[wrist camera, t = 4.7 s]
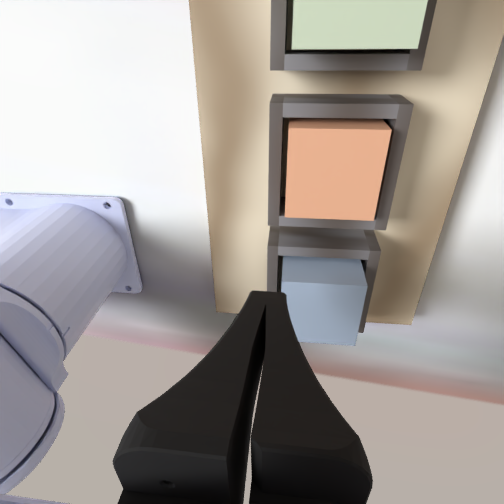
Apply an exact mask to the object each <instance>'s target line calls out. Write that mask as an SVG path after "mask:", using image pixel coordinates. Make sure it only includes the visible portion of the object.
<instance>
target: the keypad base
mask: <svg viewBox="0 0 504 504" xmlns="http://www.w3.org/2000/svg"><path fill="white" fill-rule="evenodd" d="M293 5H294V0H189V8H190V19H191V31H192V42H193V53H194V65H195V76H196V87H197V99H198V110H199V121H200V132H201V144H202V155H203V166H204V178H205V189H206V200H207V212H208V223H209V234H210V246H211V257H212V268H213V280H214V291H215V302H216V312H223V313H238V314H239V312H240V310H241V309H242V307H243V305H244V303H245V302H246V300H247V298H248V296H249V293H250V292H251V291H252V290H255V291H270V292H281V285H282V268H283V256H301V257H321V258H342V259H361V263H362V267H363V271H364V274H365V278H366V282H367V286H368V287H367V292H366V296H365V301H364V306H363V311H362V315H361V320H360V325H359V330H358V332H359V333H363V332H364V327H365V323H366V322H374V323H389V324H404V325H411V324H412V321H413V318H414V314H415V311H416V308H417V305H418V302H419V299H420V296H421V292H422V289H423V286H424V283H425V280H426V277H427V274H428V271H429V267H430V264H431V261H432V258H433V255H434V252H435V249H436V245H437V242H438V239H439V236H440V233H441V230H442V227H443V224H444V220H445V217H446V214H447V211H448V208H449V205H450V202H451V199H452V195H453V192H454V189H455V186H456V183H457V180H458V177H459V173H460V170H461V167H462V164H463V161H464V158H465V155H466V152H467V148H468V145H469V142H470V139H471V136H472V133H473V130H474V127H475V123H476V120H477V117H478V114H479V111H480V108H481V105H482V101H483V98H484V95H485V92H486V89H487V86H488V83H489V80H490V76H491V73H492V70H493V67H494V64H495V61H496V58H497V54H498V51H499V48H500V45H501V42H502V39H503V36H504V0H428V2H427V7H426V11H425V16H424V21H423V26H422V30H421V35H420V40H419V45H418V49H292V28H293ZM289 117H292V118H371V119H383V120H384V121H385V123H386V124H387V125H388V126H389V127H390V128H391V130H392V131H391V136H390V141H389V146H388V151H387V156H386V161H385V166H384V171H383V176H382V181H381V187H380V192H379V197H378V202H377V207H376V212H375V217H374V221H364V220H339V219H314V218H288V217H285V199H286V176H287V153H288V129H289Z"/></svg>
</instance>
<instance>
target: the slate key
mask: <svg viewBox="0 0 504 504" xmlns="http://www.w3.org/2000/svg"><path fill="white" fill-rule="evenodd" d="M367 287H368V286H367V282H366V278H365V274H364V271H363V267H362V263H361V259H342V258H321V257H301V256H283V268H282V285H281V292H284V293H285V294H286V295H287V306H288V311H289V315H290V319H291V322H292V325H293V328H294V331H295V334H296V336H297V339H298V342H309V343H323V344H337V345H350V346H355V344H356V339H357V334H358V330H359V325H360V320H361V315H362V311H363V306H364V301H365V296H366V292H367Z"/></svg>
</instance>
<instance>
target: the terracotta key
mask: <svg viewBox="0 0 504 504" xmlns="http://www.w3.org/2000/svg"><path fill="white" fill-rule="evenodd" d="M391 131H392V130H391V128H390V127H389V126H388V125H387V124H386V123H385V121H384V120H383V119H371V118H292V117H289V129H288V153H287V176H286V199H285V217H288V218H314V219H339V220H364V221H374V217H375V212H376V207H377V202H378V197H379V192H380V187H381V181H382V176H383V171H384V166H385V161H386V156H387V151H388V146H389V141H390V136H391Z"/></svg>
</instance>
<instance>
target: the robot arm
mask: <svg viewBox="0 0 504 504" xmlns="http://www.w3.org/2000/svg"><path fill="white" fill-rule="evenodd" d="M9 199H10V200H12V202H13V203H12V202H11V201H10V200H9ZM106 202H107V203H109V204H110V205H111V207H109V206H107V204H106ZM128 286H130V287H131V288H129V287H128ZM141 290H142V282H141V278H140V274H139V269H138V265H137V260H136V256H135V252H134V247H133V243H132V238H131V234H130V230H129V225H128V221H127V216H126V212H125V208H124V204H123V201H122V200H121V199H119V198H117V197H101V196H73V195H45V194H17V193H0V504H67V503H61V502H54V501H46V500H39V499H33V498H26V497H19V496H12V495H5V494H6V493H8V492H9V491H10V490H12V489H13V488H14V487H15V486H17V485H18V484H19V483H20V482H21V481H23V480H24V479H25V477H27V476H28V475H29V474H30V473H31V472H32V471H33V470H34V469H35V467H36V466H37V465H38V464H39V463H40V462H41V460H42V459H43V458H44V456H45V455H46V453H47V452H48V450H49V449H50V447H51V446H52V444H53V442H54V441H55V439H56V437H57V435H58V432H59V430H60V428H61V425H62V422H63V419H64V413H65V410H64V409H65V408H64V403H63V400H62V397H61V396H60V395H59V394H58V393H57V391H58V389H59V388H60V386H61V385H62V383H63V382H64V380H65V379H66V377H67V375H68V372H67V371H66V370H65V368H64V365H63V361H64V360H65V358H66V357H67V355H68V354H69V352H70V351H71V349H72V348H73V346H74V345H75V343H76V342H77V341H78V339H79V338H80V336H81V335H82V333H83V332H84V330H85V329H86V328H87V326H88V325H89V323H90V322H91V320H92V319H93V317H94V316H95V314H96V313H97V312H98V310H99V309H100V307H101V306H102V304H103V303H104V301H105V300H106V298H107V297H108V296H109V294H110V293H111V292H120V293H140V292H141ZM263 361H264V362H263ZM262 366H263V370H262ZM261 371H262V376H261ZM260 376H261V382H260V389H259V395H258V401H257V407H256V413H255V418H254V423H253V428H252V434H251V426H252V417H253V411H254V405H255V400H256V395H257V390H258V385H259V381H260ZM250 434H251V463H252V464H251V465H252V482H251V490H250V499H249V504H366V502H367V500H368V497H369V494H370V491H371V489H372V481H373V480H372V474H371V470H370V466H369V463H368V459H367V456H366V454H365V451H364V448H363V446H362V443H361V441H360V438H359V436H358V435H357V434H356V433H355V431H354V430H353V429H352V428H351V427H350V425H349V424H348V423H347V422H346V420H345V419H344V418H343V417H342V415H341V414H340V412H339V411H338V410H337V408H336V407H335V406H334V404H333V403H332V401H331V400H330V398H329V397H328V395H327V394H326V392H325V391H324V389H323V388H322V386H321V385H320V383H319V382H318V380H317V378H316V376H315V374H314V373H313V371H312V369H311V367H310V365H309V363H308V361H307V359H306V357H305V355H304V353H303V351H302V349H301V346H300V344H299V342H298V339H297V336H296V334H295V331H294V328H293V325H292V322H291V319H290V315H289V311H288V306H287V295H286V294H285V293H284V292H270V291H255V290H252V291H251V292H250V293H249V296H248V298H247V300H246V302H245V303H244V305H243V307H242V309H241V310H240V312H239V314H238V315H237V317H236V318H235V320H234V321H233V323H232V324H231V326H230V327H229V328H228V330H227V331H226V332H225V334H224V335H223V336H222V337H221V339H220V340H219V341H218V343H217V344H216V345H215V346H214V347H213V348H212V350H211V351H210V352H209V353H208V354H207V355H206V356H205V357H204V358H203V359H202V360H201V361H200V362H199V363H198V364H197V366H195V367H194V368H193V369H192V370H191V371H190V372H189V373H188V374H187V375H186V376H185V377H183V378H182V379H181V380H180V381H179V382H177V383H176V384H175V385H174V386H172V387H171V388H170V389H169V390H168V391H166V392H165V393H164V394H162V395H161V396H160V397H158V398H157V399H156V400H154V401H152V402H151V403H150V404H148V405H147V406H145V407H144V408H143V409H141V410H139V411H138V412H137V413H136V415H135V416H134V418H133V419H132V421H131V422H130V424H129V426H128V428H127V430H126V431H125V433H124V435H123V437H122V439H121V442H120V444H119V447H118V449H117V452H116V454H115V456H114V459H113V465H114V469H115V471H116V473H117V475H118V478H119V480H120V482H121V484H122V486H123V491H122V494H121V496H120V499H119V502H118V504H243V501H244V491H245V481H246V472H247V462H248V453H249V443H250Z"/></svg>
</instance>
